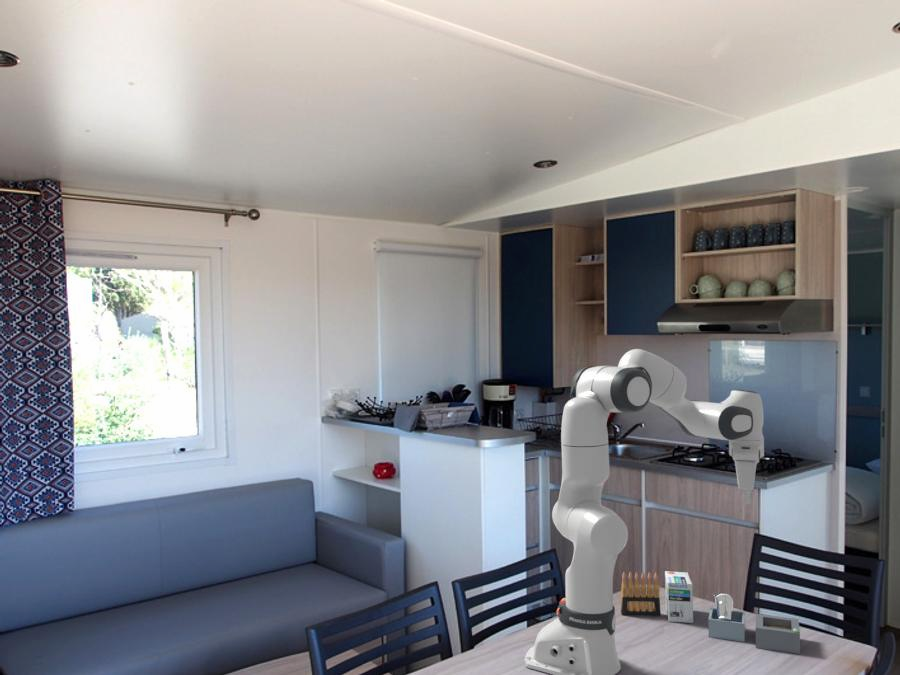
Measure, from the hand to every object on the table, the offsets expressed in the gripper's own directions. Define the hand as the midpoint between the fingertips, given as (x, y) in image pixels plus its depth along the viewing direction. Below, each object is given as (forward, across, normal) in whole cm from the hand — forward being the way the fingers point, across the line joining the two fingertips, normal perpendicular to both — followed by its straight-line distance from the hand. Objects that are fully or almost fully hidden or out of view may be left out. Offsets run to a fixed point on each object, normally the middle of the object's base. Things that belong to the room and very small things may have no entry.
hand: (747, 500), depth 199 cm
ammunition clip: (+33, +5, -28) cm, 44 cm away
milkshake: (+29, +14, -6) cm, 33 cm away
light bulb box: (+33, +2, -18) cm, 38 cm away
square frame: (+33, +12, +7) cm, 36 cm away
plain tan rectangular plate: (+31, +12, +7) cm, 34 cm away
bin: (+33, +10, -5) cm, 35 cm away
